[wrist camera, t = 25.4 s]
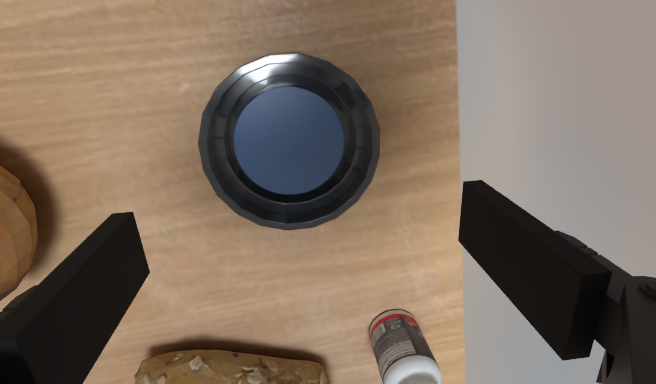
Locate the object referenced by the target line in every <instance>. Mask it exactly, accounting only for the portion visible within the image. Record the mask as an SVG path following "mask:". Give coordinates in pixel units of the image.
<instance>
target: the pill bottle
mask: <svg viewBox="0 0 656 384" xmlns="http://www.w3.org/2000/svg"><path fill="white" fill-rule="evenodd" d="M369 336H370V341H371V344H372V347H373V350H374V354H375V357H376V361H377V364H378V367H379V371H380V375H381V378H382V381H383V384H441V372H440V369H439V366H438V364H437V362H436V360H435V358H434V356H433V355H432V352H431V350H430V348H429V346H428V344H427V342H426V340H425V338H424V336H423V334H422V332H421V330H420V328H419V326H418V324H417V322H416V320H415V319H414V317H413V316H412V315H411V314H409V313H407V312H405V311H401V310H392V311H388V312H385V313H383V314H381V315H380V316H378V317H377V318H376V319H375V320H374V321H373V323H372V325H371V327H370V331H369Z"/></svg>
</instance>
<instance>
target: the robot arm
mask: <svg viewBox="0 0 656 384" xmlns="http://www.w3.org/2000/svg"><path fill="white" fill-rule="evenodd" d="M458 241H459V242H460V243H461V244H462V245H463V247H464V248H465V249H466V250H467V251H468V252H469V253H470V255H471V256H472V257H473V258H474V259H475V260H476V261H477V263H478V264H479V265H480V266H481V267H482V268H483V270H484V271H485V272H486V273H487V274H488V275H489V276H490V278H491V279H492V280H493V281H494V282H495V283H496V284H497V286H498V287H499V288H500V289H501V290H502V291H503V293H504V294H506V296H507V297H508V298H509V299H510V301H511V302H512V303H513V304H514V305H515V306H516V307H517V309H518V310H519V311H520V312H521V313H522V314H523V316H524V317H525V318H526V319H527V320H528V321H529V322H530V324H531V325H532V326H533V327H534V328H535V329H536V330H537V332H538V333H539V334H540V335H541V336H542V337H543V338H544V340H545V341H546V342H547V343H548V344H549V345H550V347H552V349H553V350H554V351H555V352H556V353H557V355H559V357H560V358H561V359H562V360H570V359H577V358H585V357H589V356H590V352H591V349H592V345H593V341H594V339H595V340H596V341H597V342H598V343H599V344H600V345H601V346H602V347H603V348H604V349H605V354H604V357H603V361H602V364H601V367H600V371H599V374H598V378H597V381H596V382H598V383H602V384H656V278H654V277H647V276H631V275H630V274H628V273H627V272H625V271H624V270H622V269H621V268H619V267H618V266H616V265H615V264H613V263H612V262H610V261H609V260H608V259H606V258H604V257H603V256H601V255H598V253H597V252H596V251H594V250H593V249H591V248H588V247H587V245H585V244H584V243H582V242H581V241H579V240H578V239H576V238H575V237H572V236H570V235H567V234H565V233H563V232H560V231H554V230H552V229H551V228H549V227H548V226H546V225H545V224H544V223H542V222H541V221H539V220H538V219H536V218H535V217H534V216H532V215H530V214H529V213H528V212H526V211H525V210H524V209H522V208H521V207H519V206H518V205H516V204H515V203H513V202H512V201H510V200H509V199H508V198H506V197H505V196H503V195H502V194H501V193H499V192H498V191H496V190H495V189H493V188H492V187H490V186H489V185H488V184H486V183H485V182H483V181H482V180H478V181H466V182H463V193H462V204H461V216H460V227H459V239H458ZM149 273H150V271H149V267H148V264H147V260H146V257H145V253H144V250H143V246H142V242H141V239H140V235H139V232H138V228H137V225H136V221H135V218H134V214H133V212H125V213H114V214H111V215H110V216H109V217H108V218H107V219H106V220H105V221H104V222H103V223H102V224H101V225H100V226H99V227H98V228H97V229H96V230H95V231H94V232H93V233H92V234H91V235H90V236H88V237H87V238H86V239H85V240H84V241H83V242H82V243H81V244H80V245H79V246H78V247H77V248H76V249H75V250H74V251H73V252H72V253H71V254H70V255H69V256H68V257H67V258H66V259H65V260H64V261H63V262H61V263H60V264H59V265H58V266H57V267H56V268H55V269H54V270H53V271H52V272H51V273H50V274H49V275H48V276H47V277H46V278H45V279H44V280H43V281H42V282H41V283H40V284H39V285H35V286H33V287H31V288H30V289H28V290H27V291H25V292H23V293H22V294H20V295H18V296H17V297H15V298H14V299H13V300H12V301H11V302H10V303H9V304H8V305H7V306H6V307H5V308H4V309H3V311H2V312H0V384H83V382H84V380H85V379H86V377H87V375H88V374H89V372H90V370H91V369H92V367H93V366H94V364H95V362H96V361H97V359H98V357H99V356H100V354H101V352H102V351H103V349H104V347H105V346H106V344H107V342H108V341H109V339H110V337H111V336H112V334H113V333H114V331H115V329H116V328H117V326H118V324H119V323H120V321H121V319H122V318H123V316H124V314H125V313H126V311H127V309H128V308H129V306H130V304H131V303H132V301H133V299H134V298H135V296H136V295H137V293H138V291H139V290H140V288H141V286H142V285H143V283H144V281H145V280H146V278H147V276H148V275H149Z"/></svg>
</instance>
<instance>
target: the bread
mask: <svg viewBox="0 0 656 384" xmlns="http://www.w3.org/2000/svg"><path fill="white" fill-rule="evenodd" d="M135 379H136V383H135V384H330V382H329V377H328V373H327V372H326V371H325V370H324V368H323V367H322V366H321V365H320V364H318V363H316V362H312V361H307V360H292V359H283V358H276V357H269V356H261V355H255V354H248V353H236V352H230V351H223V350H187V351H173V352H169V353H165V354H161V355H158V356H155V357H152V358H149V359H146V360H143V361H142V363H141V365H140V367H139V370H138V372H137V373H136V374H135Z"/></svg>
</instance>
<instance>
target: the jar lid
mask: <svg viewBox="0 0 656 384" xmlns="http://www.w3.org/2000/svg"><path fill="white" fill-rule="evenodd" d="M233 143H234V151H235V154H236V158H237V160H238V163H239V165H240V166H241V168H242V170H243V171H244V172H245V174H246V175H247V176H248V177H249V178H250V179H251V180H252V181H253V182H254V183H256V184H257V185H258V186H260V187H262V188H264V189H266V190H268V191H271V192H274V193H278V194H286V195H293V194H300V193H305V192H308V191H311V190H313V189H315V188H317V187H319V186H320V185H322V184H323V183H324V182H325V181H327V180H328V179H329V178H330V177H331V175H332V174H333V173H334V172H335V170H336V169H337V167H338V165H339V163H340V161H341V158H342V155H343V150H344V132H343V127H342V124H341V121H340V119H339V117H338V115H337V113H336V112H335V110H334V109H333V108H332V106H331V105H330V104H329V103H328V102H327V101H326V100H325V99H324V98H323V97H322V96H321V95H319V94H318V93H316V92H315V91H313V90H311V89H309V88H306V87H303V86H299V85H292V84H284V85H277V86H274V85H273V86H272V87H270V88H267V89H265V90H263V91H261V92H260V93H258V94H257V95H255V96H254V97H253V98H252V99H251V100H250V101H249V102H248V103H247V105H246V106H245V107H244V109H243V110H242V112H241V114H240V115H239V117H238V120H237V122H236V125H235V129H234V136H233Z"/></svg>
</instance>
